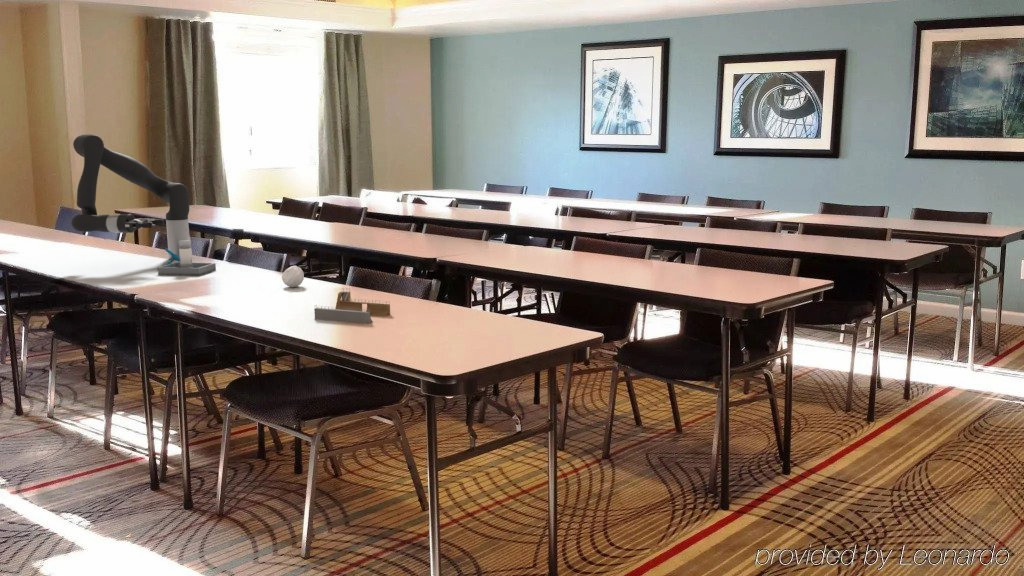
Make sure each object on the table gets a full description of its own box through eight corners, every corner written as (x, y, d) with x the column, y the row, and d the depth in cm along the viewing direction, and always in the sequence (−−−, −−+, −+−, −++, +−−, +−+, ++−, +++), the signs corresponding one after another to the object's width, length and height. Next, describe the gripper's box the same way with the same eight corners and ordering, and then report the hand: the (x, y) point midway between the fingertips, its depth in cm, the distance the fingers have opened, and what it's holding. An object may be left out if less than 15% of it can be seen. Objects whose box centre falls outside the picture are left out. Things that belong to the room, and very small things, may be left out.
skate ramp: (292, 323, 287) (290, 299, 285) (351, 302, 319) (350, 280, 318) (376, 330, 276) (375, 305, 275) (428, 308, 309) (428, 285, 307)
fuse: (184, 269, 380) (182, 240, 378) (195, 269, 380) (192, 240, 377) (178, 271, 376) (176, 241, 374) (189, 271, 375) (186, 241, 373)
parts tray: (176, 269, 386) (175, 262, 386) (215, 270, 383) (215, 263, 382) (158, 274, 373) (157, 267, 372) (199, 275, 370) (198, 268, 369)
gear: (186, 262, 393) (167, 246, 390) (177, 273, 392) (157, 257, 389) (185, 262, 404) (166, 247, 401) (175, 273, 402) (156, 257, 399)
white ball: (278, 287, 344) (277, 266, 342) (293, 284, 350) (292, 263, 348) (293, 289, 339) (292, 268, 338) (309, 286, 345) (308, 265, 344)
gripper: (109, 216, 372) (147, 216, 369) (130, 212, 386) (166, 212, 383) (111, 235, 374) (148, 235, 371) (132, 230, 387) (168, 230, 384)
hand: (157, 223), depth 377 cm, fingers open, 8 cm apart
